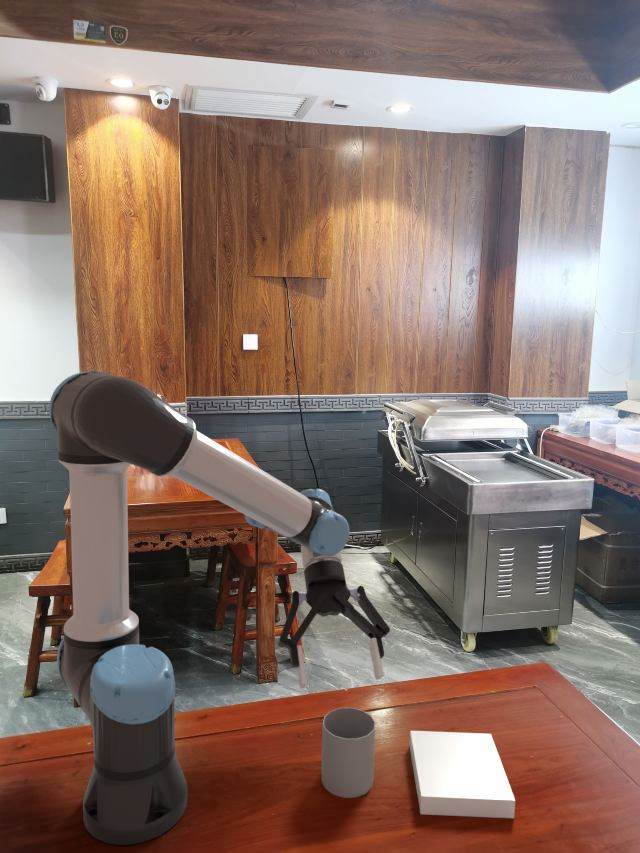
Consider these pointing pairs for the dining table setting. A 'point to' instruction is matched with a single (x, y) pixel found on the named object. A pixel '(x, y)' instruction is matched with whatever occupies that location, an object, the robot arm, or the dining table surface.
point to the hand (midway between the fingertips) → (342, 682)
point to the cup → (348, 752)
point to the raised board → (460, 775)
